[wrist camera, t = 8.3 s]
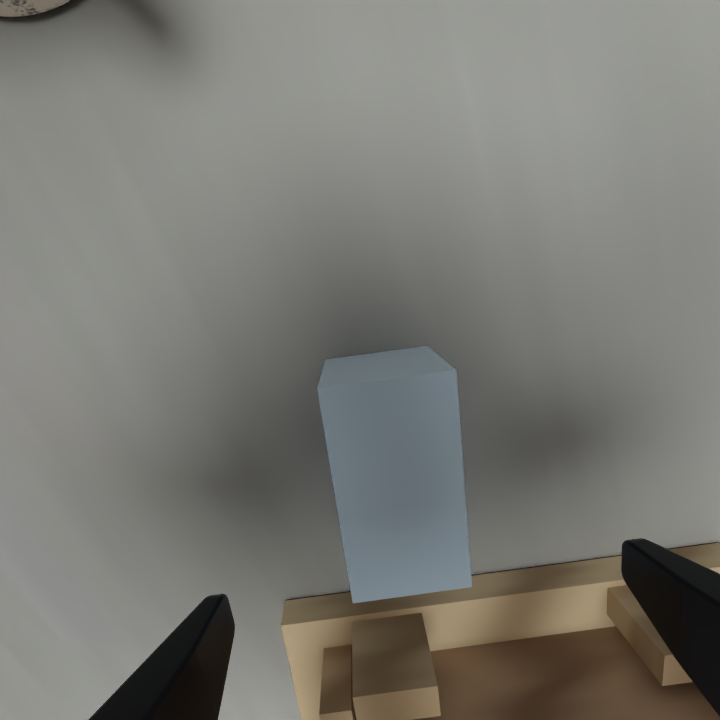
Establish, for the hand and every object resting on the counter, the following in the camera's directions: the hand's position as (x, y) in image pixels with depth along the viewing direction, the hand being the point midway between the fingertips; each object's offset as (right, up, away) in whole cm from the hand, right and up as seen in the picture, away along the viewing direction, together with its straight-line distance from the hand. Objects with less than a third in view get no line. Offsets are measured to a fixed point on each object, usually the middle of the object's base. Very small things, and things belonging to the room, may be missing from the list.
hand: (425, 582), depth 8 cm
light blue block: (0, +2, +7) cm, 7 cm away
